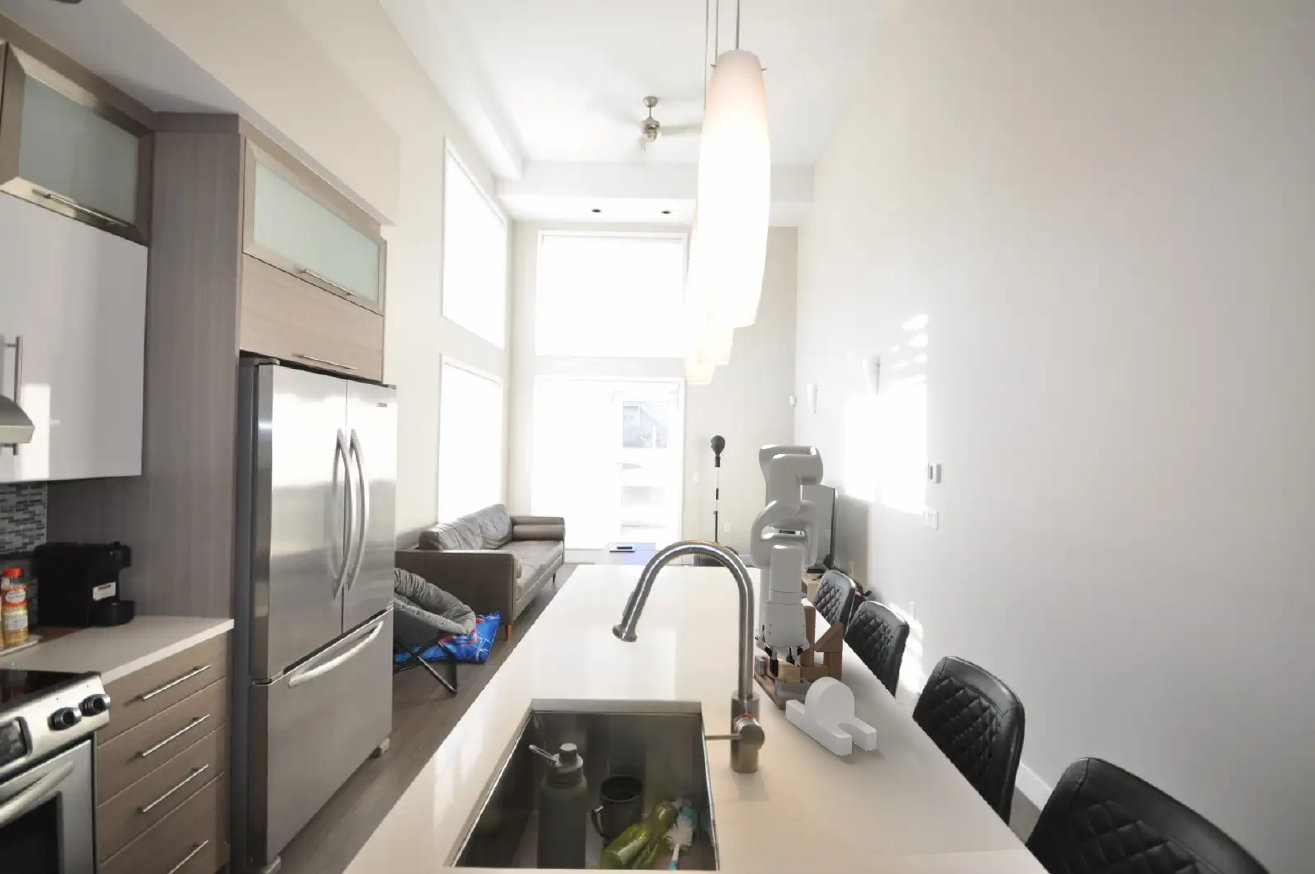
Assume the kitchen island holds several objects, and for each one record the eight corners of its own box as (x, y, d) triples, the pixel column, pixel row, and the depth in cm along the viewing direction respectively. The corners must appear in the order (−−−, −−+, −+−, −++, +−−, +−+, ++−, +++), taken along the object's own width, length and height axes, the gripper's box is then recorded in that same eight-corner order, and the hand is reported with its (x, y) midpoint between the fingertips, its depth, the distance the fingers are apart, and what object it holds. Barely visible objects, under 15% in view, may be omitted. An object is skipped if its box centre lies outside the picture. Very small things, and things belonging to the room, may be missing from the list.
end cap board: (747, 670, 160) (748, 652, 160) (781, 670, 161) (782, 652, 162) (779, 709, 136) (780, 688, 137) (818, 708, 138) (819, 688, 138)
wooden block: (841, 681, 156) (844, 608, 156) (801, 682, 153) (804, 609, 154) (834, 675, 159) (837, 605, 160) (795, 677, 157) (798, 605, 157)
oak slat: (765, 673, 156) (765, 656, 156) (776, 673, 156) (776, 656, 157) (787, 686, 140) (787, 667, 141) (800, 686, 141) (799, 667, 141)
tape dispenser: (838, 758, 116) (840, 699, 116) (783, 718, 133) (785, 667, 133) (878, 750, 120) (880, 694, 120) (820, 712, 136) (821, 663, 137)
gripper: (811, 594, 154) (808, 669, 153) (747, 593, 152) (744, 670, 151) (823, 601, 146) (820, 680, 146) (756, 600, 144) (753, 680, 143)
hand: (781, 674), depth 148 cm, fingers closed on oak slat, 3 cm apart
